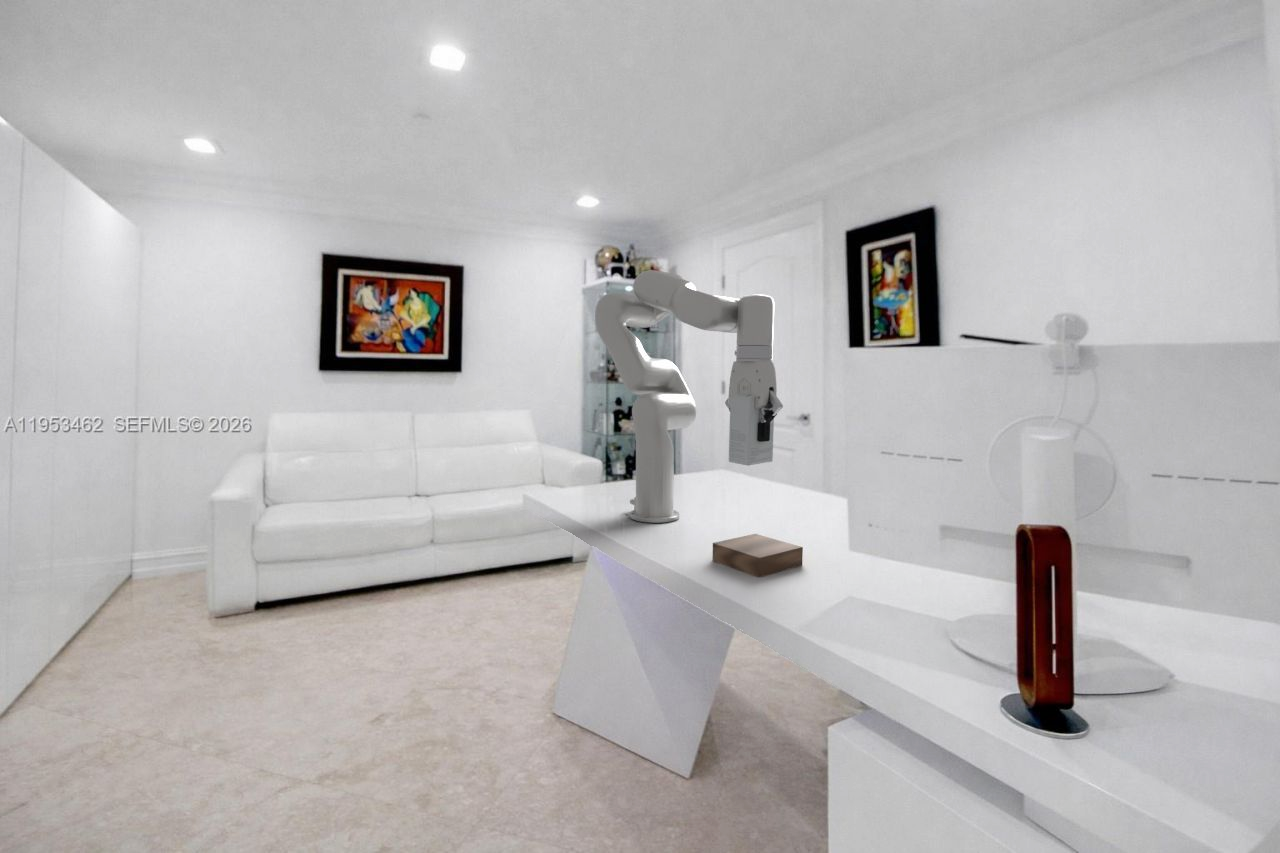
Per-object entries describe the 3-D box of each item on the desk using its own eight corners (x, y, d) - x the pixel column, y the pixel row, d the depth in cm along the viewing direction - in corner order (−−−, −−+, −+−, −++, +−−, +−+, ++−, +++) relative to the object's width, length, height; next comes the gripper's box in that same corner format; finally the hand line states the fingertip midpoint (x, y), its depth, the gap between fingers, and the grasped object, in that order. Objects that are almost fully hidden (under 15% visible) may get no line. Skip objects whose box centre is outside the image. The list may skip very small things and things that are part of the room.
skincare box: (752, 459, 135) (754, 392, 133) (774, 462, 130) (776, 393, 129) (726, 462, 129) (728, 393, 128) (748, 466, 125) (750, 394, 123)
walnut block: (712, 560, 117) (712, 542, 117) (755, 550, 124) (755, 533, 124) (759, 577, 108) (759, 557, 107) (802, 565, 115) (802, 547, 114)
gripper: (713, 355, 132) (710, 436, 134) (773, 353, 118) (770, 445, 120) (737, 356, 137) (734, 435, 138) (798, 355, 123) (795, 442, 124)
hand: (751, 438), depth 129 cm, fingers closed on skincare box, 6 cm apart
